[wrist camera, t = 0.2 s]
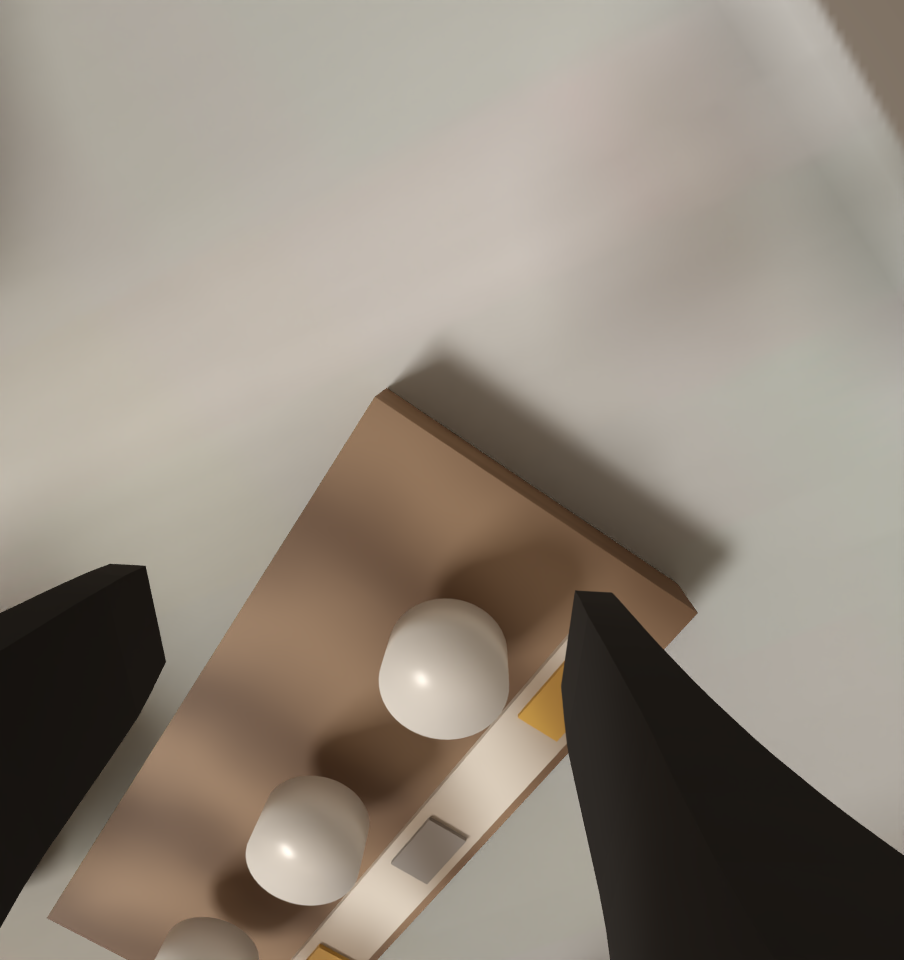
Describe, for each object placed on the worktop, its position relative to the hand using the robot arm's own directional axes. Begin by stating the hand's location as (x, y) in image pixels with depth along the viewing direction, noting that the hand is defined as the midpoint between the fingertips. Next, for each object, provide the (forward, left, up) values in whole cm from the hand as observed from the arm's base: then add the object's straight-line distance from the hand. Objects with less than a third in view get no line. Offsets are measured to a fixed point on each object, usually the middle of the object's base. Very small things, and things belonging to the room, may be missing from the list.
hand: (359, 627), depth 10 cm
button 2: (-3, -4, -7) cm, 8 cm away
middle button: (-11, -4, -7) cm, 14 cm away
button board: (-11, -4, -10) cm, 16 cm away
